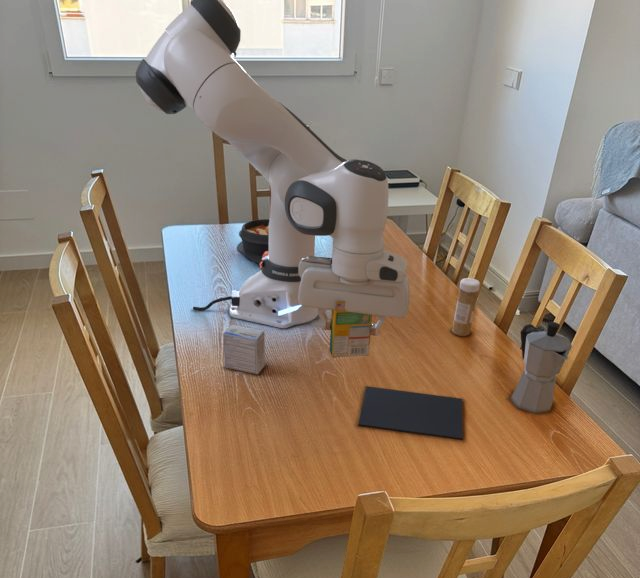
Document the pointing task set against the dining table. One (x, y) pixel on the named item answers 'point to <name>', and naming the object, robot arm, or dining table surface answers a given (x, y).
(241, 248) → the casserole
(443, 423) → the mat
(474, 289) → the sprinkles bottle
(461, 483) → the dining table surface
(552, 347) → the coffee maker
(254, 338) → the medicine box
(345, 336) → the crayon box
